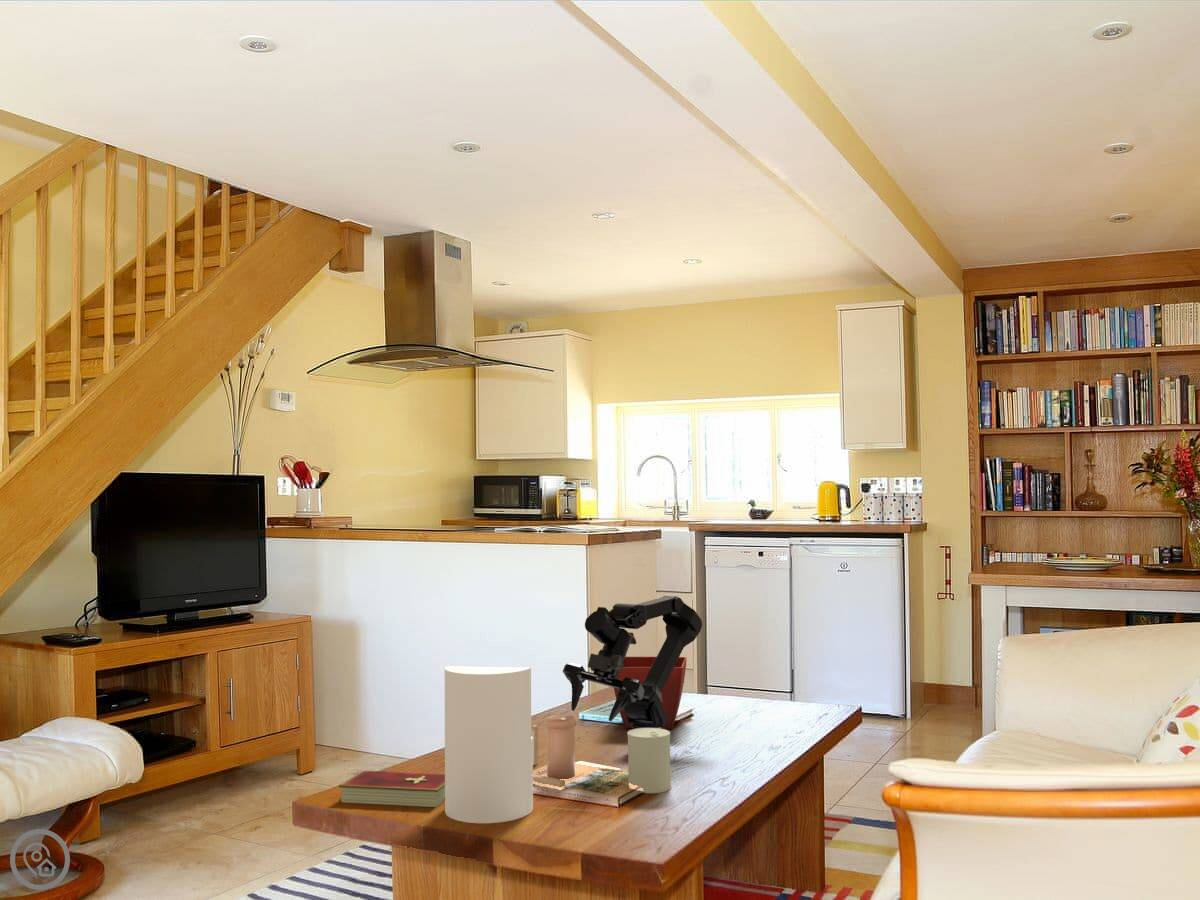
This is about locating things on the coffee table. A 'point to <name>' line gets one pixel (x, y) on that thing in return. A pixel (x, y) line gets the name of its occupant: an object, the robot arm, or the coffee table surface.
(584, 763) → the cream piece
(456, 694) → the cylinder
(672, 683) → the plant pot
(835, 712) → the coffee table surface
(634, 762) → the can
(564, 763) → the tan tall round cup
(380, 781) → the hardcover book
